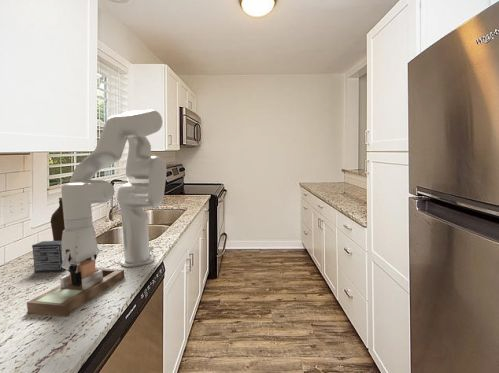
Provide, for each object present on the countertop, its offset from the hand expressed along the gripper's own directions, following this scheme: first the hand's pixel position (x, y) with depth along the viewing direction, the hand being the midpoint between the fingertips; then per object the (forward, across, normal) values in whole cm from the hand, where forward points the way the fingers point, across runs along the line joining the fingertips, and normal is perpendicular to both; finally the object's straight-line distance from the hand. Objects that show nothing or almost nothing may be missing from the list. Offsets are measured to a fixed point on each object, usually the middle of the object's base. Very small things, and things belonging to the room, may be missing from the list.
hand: (83, 280), depth 96 cm
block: (0, 0, 0) cm, 0 cm away
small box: (+4, -16, -27) cm, 32 cm away
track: (+4, +1, 0) cm, 4 cm away
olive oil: (+4, -34, -37) cm, 50 cm away
